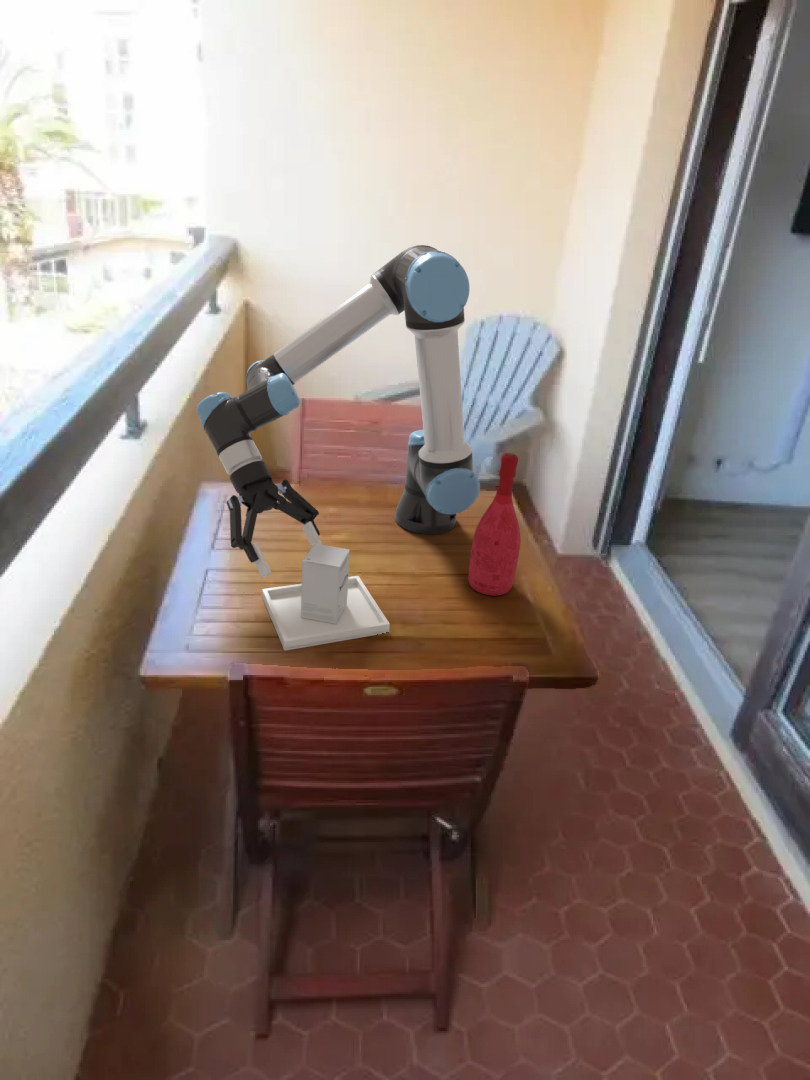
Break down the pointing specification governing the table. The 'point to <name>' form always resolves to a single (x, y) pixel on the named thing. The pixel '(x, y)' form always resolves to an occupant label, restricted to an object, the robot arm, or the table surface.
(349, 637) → the white tray
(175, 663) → the table surface
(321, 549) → the supplement box
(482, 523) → the wine bottle
